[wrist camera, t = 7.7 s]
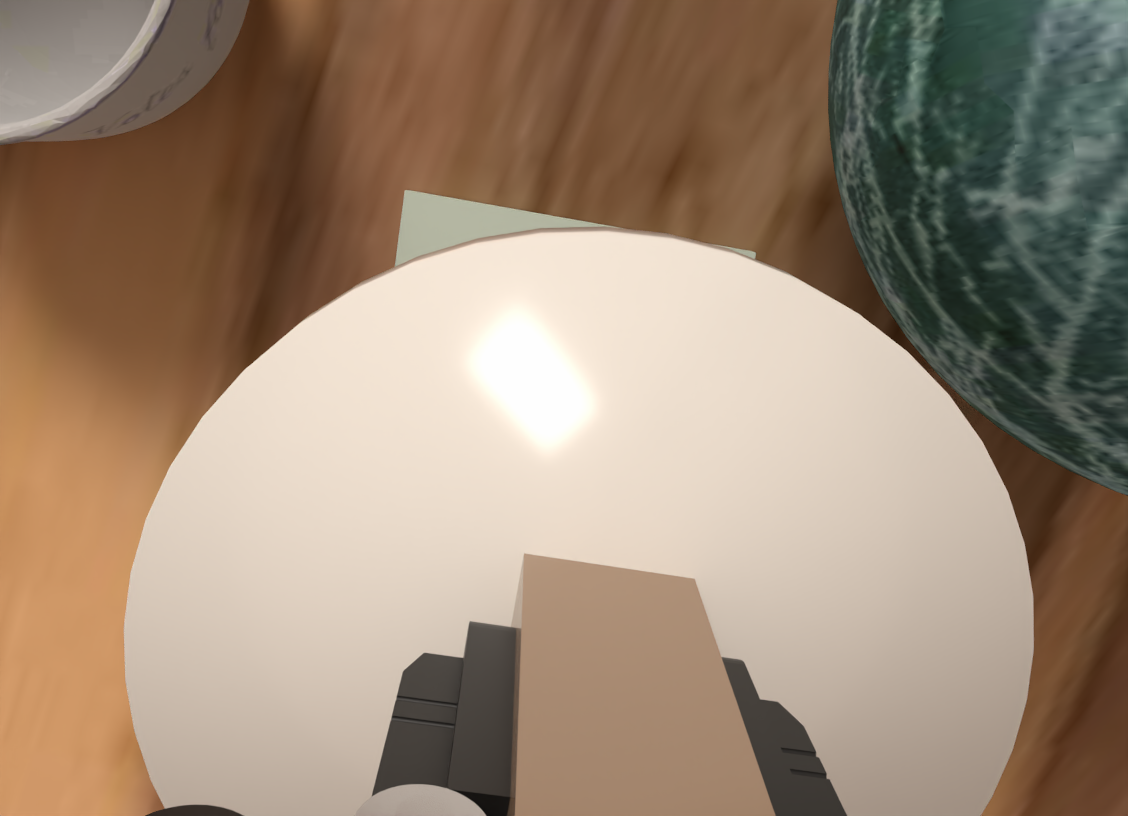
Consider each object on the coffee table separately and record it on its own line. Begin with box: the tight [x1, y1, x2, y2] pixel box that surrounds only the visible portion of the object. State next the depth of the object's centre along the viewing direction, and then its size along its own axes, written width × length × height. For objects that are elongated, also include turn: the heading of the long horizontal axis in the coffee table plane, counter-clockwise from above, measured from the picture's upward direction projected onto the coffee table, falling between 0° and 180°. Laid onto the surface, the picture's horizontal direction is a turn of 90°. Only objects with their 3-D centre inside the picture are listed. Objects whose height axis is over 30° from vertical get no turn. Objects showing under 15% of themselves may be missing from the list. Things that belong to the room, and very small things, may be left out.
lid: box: [124, 227, 1034, 816], centre depth 11 cm, size 13×13×7 cm
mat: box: [395, 190, 756, 267], centre depth 31 cm, size 11×11×1 cm
